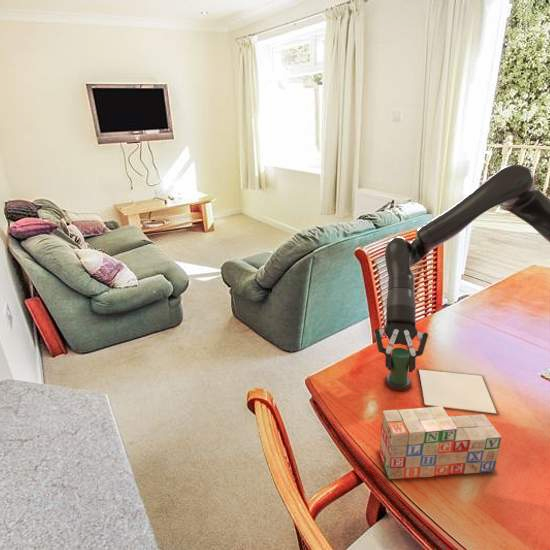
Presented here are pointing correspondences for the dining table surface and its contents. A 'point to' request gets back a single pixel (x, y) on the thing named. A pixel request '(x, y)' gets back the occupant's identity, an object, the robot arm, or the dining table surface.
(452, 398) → the napkin
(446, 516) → the dining table surface
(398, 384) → the green cylinder with base
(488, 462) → the stack of blocks
